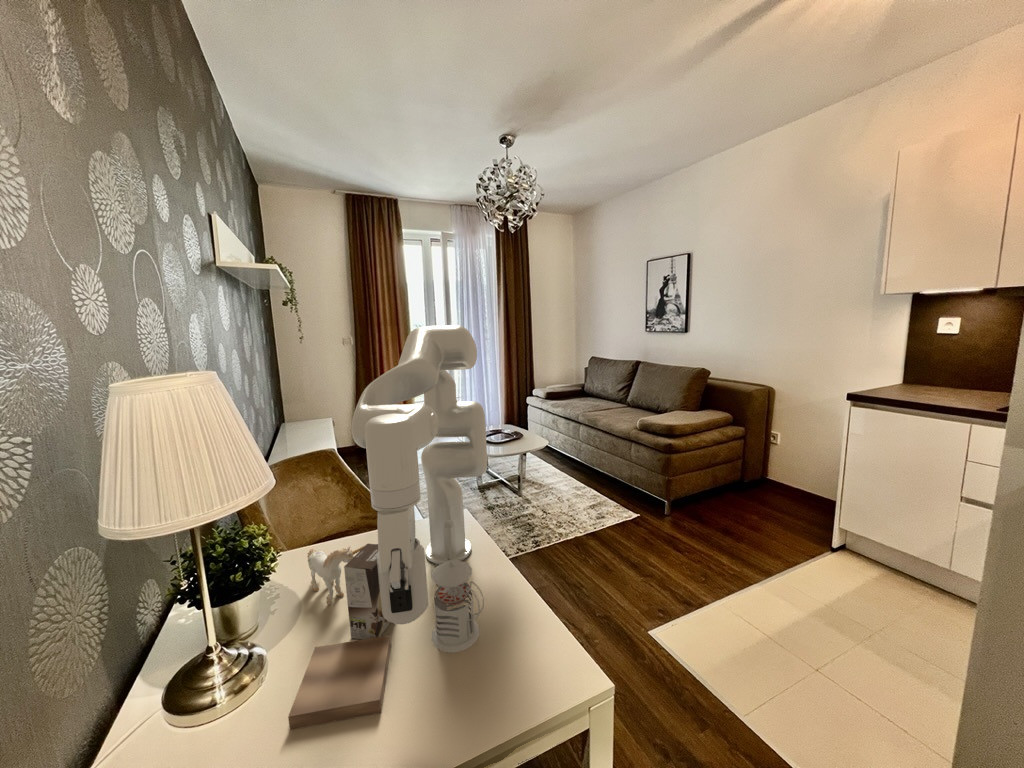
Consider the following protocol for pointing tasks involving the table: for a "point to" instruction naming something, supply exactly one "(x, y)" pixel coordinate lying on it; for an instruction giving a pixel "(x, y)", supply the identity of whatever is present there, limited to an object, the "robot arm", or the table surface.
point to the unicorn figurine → (329, 568)
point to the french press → (456, 623)
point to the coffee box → (364, 594)
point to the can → (417, 588)
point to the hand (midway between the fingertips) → (404, 592)
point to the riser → (342, 682)
